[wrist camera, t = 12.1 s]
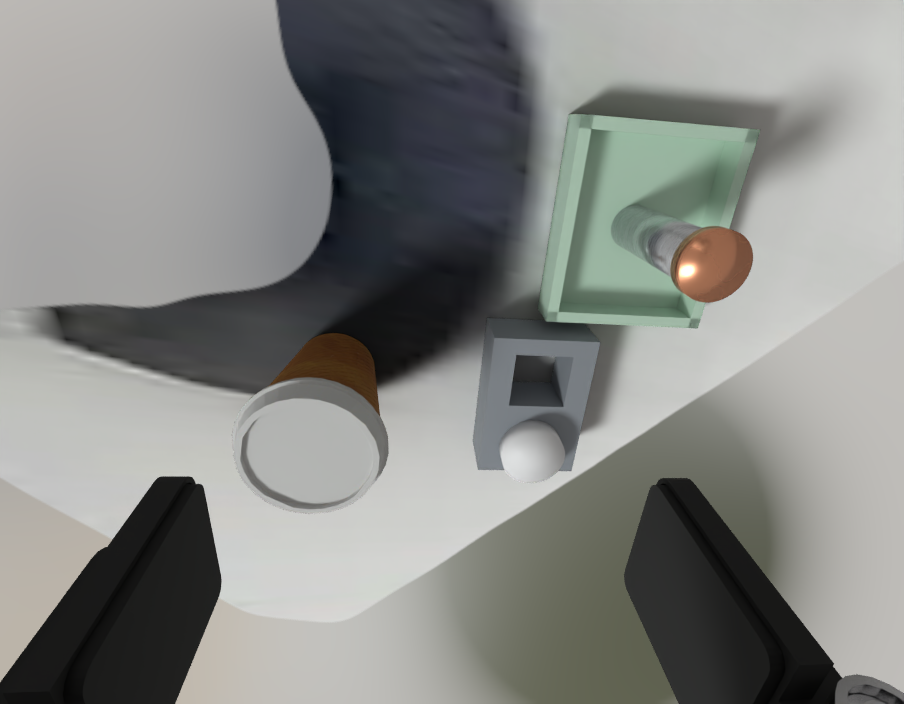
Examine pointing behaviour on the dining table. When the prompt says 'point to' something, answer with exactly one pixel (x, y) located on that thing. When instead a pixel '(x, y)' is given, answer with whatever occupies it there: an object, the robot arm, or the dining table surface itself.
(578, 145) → the tray
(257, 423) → the disposable coffee cup
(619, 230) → the pin
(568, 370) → the block
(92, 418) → the dining table surface
